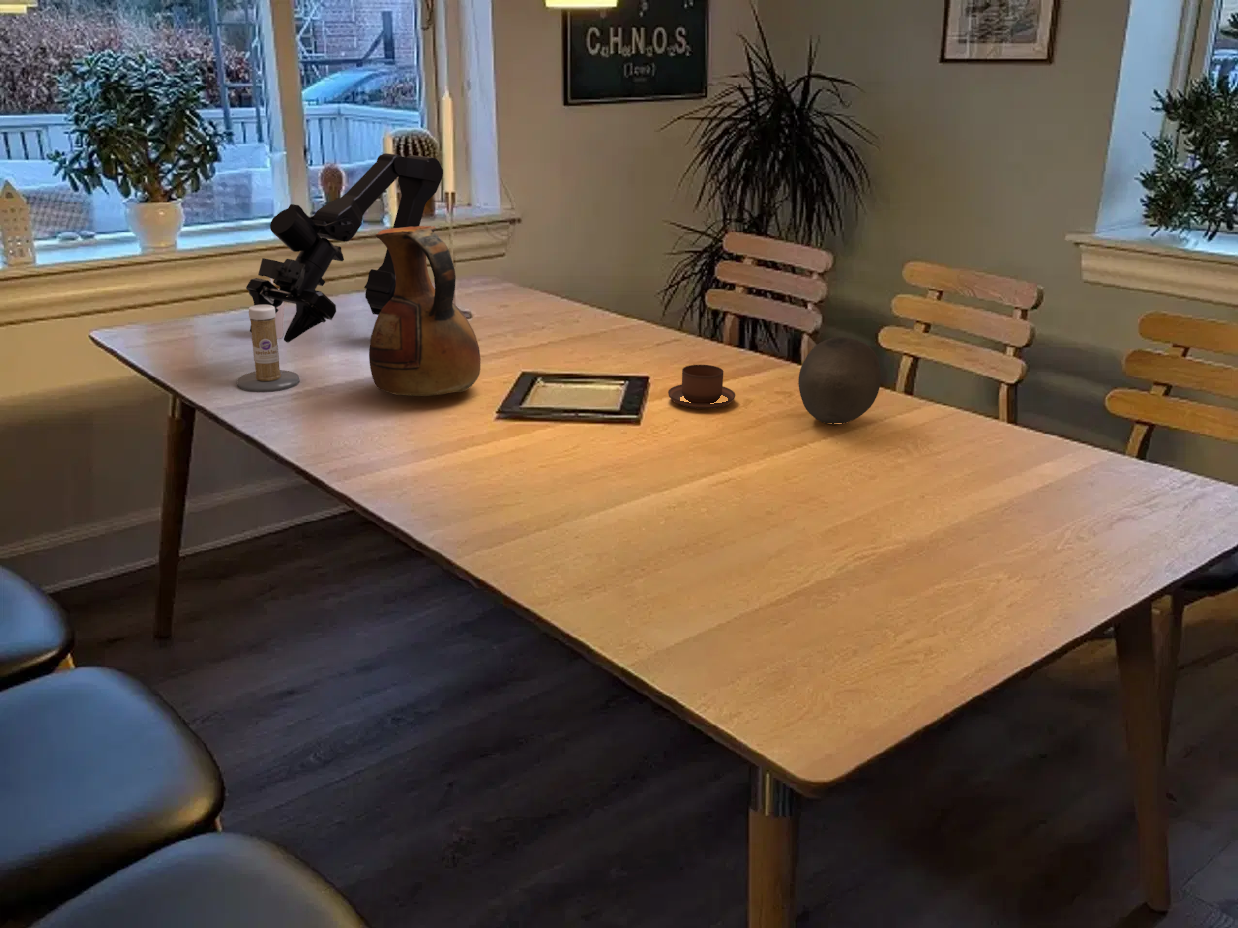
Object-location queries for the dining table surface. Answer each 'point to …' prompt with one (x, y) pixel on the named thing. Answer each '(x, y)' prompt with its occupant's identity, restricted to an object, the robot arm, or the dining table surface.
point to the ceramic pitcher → (422, 322)
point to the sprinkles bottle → (264, 342)
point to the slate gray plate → (268, 382)
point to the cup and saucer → (701, 387)
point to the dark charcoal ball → (839, 380)
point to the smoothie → (279, 318)
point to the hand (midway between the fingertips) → (268, 337)
